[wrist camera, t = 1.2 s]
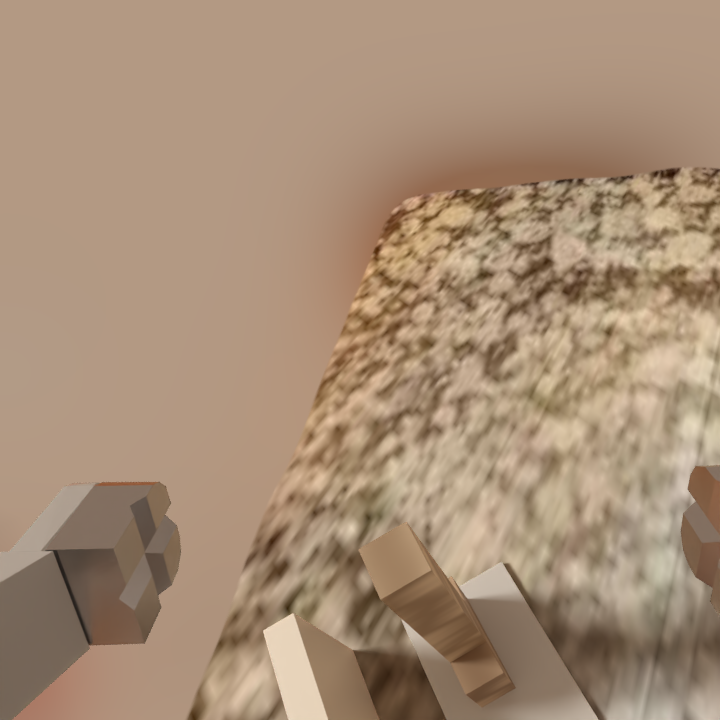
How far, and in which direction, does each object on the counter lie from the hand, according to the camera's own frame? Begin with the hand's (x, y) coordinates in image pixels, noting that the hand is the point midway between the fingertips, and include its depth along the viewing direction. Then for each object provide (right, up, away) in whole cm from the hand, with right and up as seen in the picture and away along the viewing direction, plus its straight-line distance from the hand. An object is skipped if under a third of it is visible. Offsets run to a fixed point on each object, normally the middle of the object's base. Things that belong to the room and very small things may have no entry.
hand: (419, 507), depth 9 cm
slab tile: (-1, -21, +30) cm, 36 cm away
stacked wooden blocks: (+6, -16, +29) cm, 34 cm away
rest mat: (+8, -18, +28) cm, 34 cm away
